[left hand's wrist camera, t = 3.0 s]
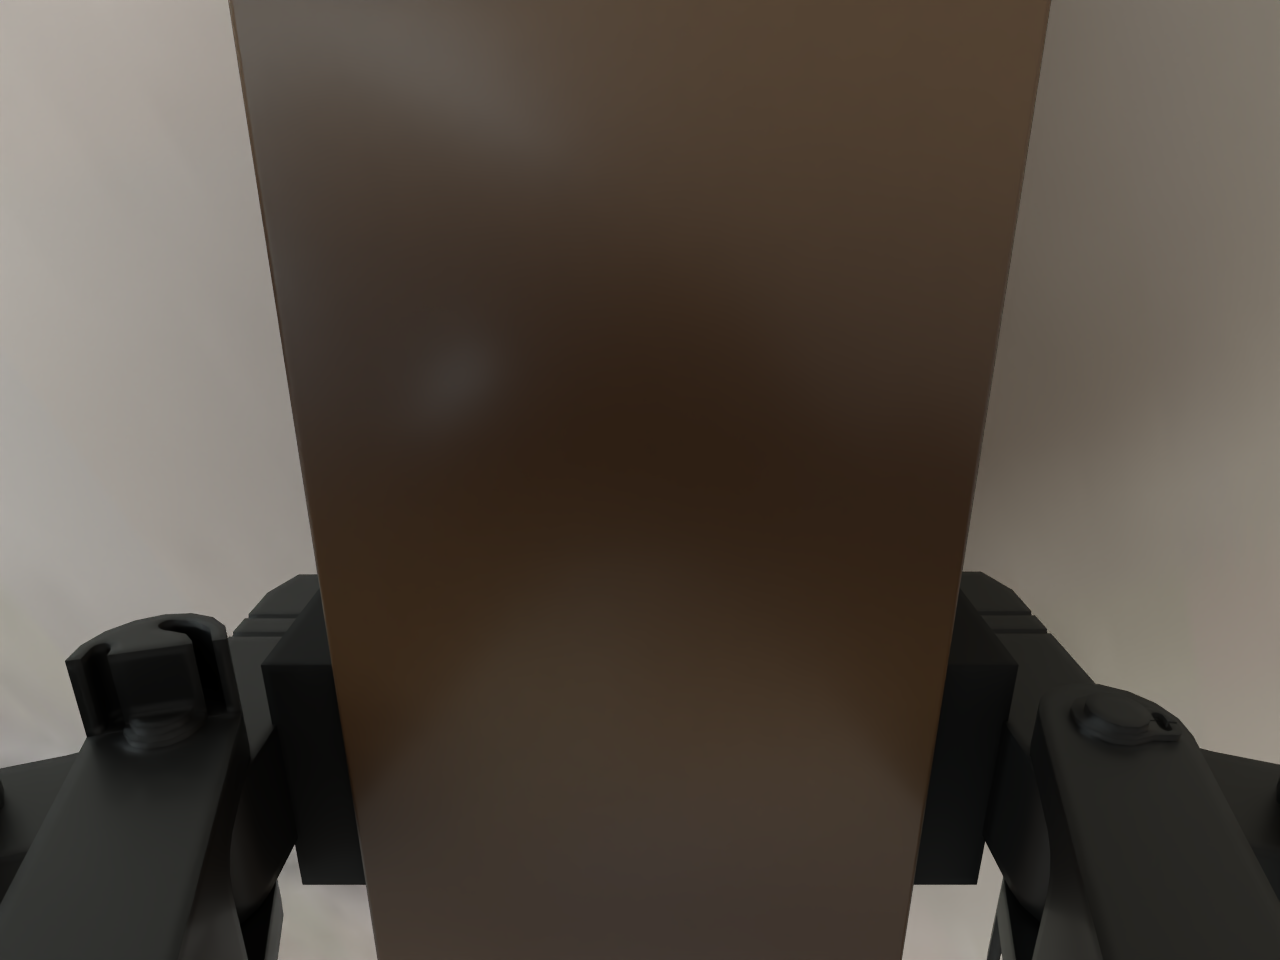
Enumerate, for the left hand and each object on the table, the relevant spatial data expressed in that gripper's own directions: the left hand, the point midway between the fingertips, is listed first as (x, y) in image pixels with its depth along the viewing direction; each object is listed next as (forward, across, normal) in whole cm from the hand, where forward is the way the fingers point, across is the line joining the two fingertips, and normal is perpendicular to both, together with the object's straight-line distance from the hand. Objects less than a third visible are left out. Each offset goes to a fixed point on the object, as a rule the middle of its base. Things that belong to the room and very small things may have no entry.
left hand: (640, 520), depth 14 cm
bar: (+1, 0, -22) cm, 22 cm away
